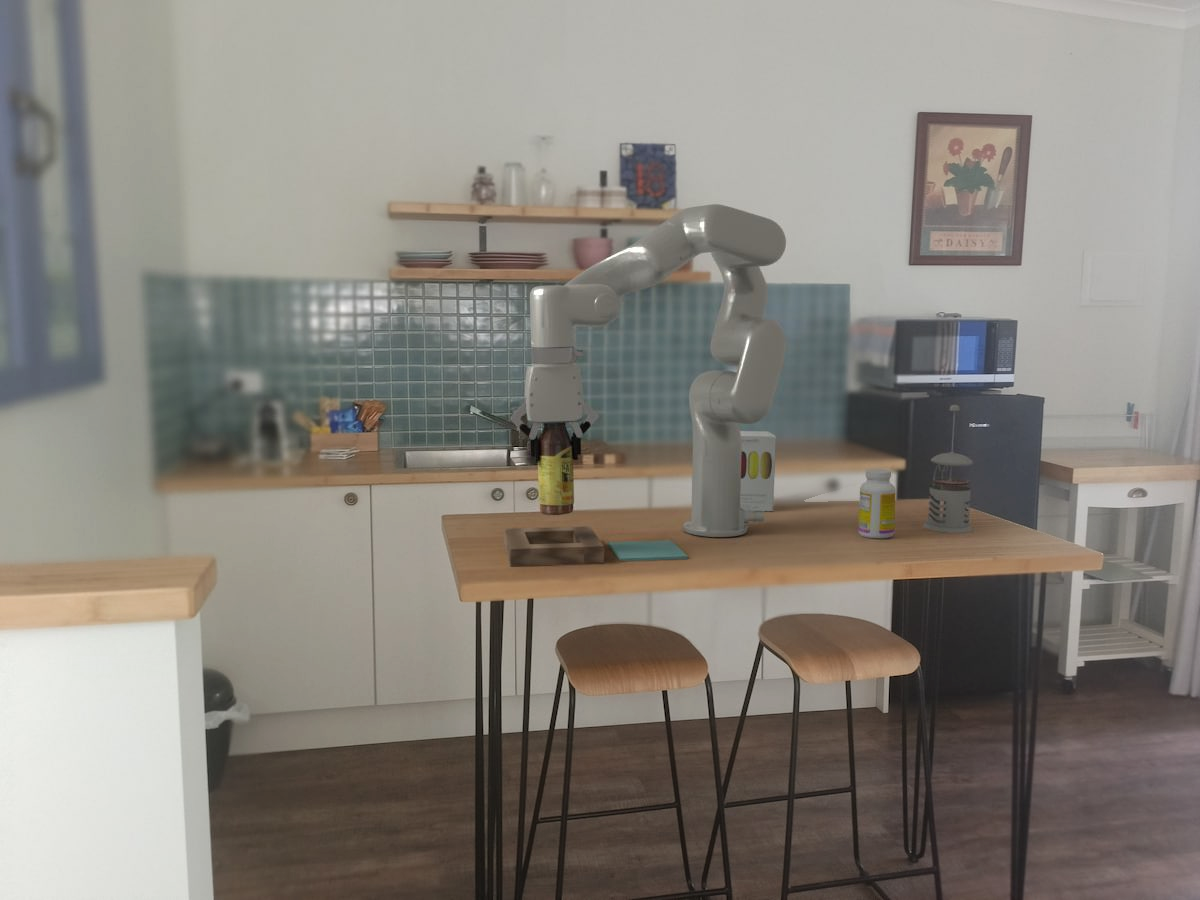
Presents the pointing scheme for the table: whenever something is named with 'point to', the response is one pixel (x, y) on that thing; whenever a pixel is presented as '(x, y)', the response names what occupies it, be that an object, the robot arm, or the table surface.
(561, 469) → the sauce bottle
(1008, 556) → the table surface
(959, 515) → the french press
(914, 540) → the table surface
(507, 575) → the table surface
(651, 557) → the teal mat
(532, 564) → the pocket block
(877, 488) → the supplement bottle
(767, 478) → the supplement box
